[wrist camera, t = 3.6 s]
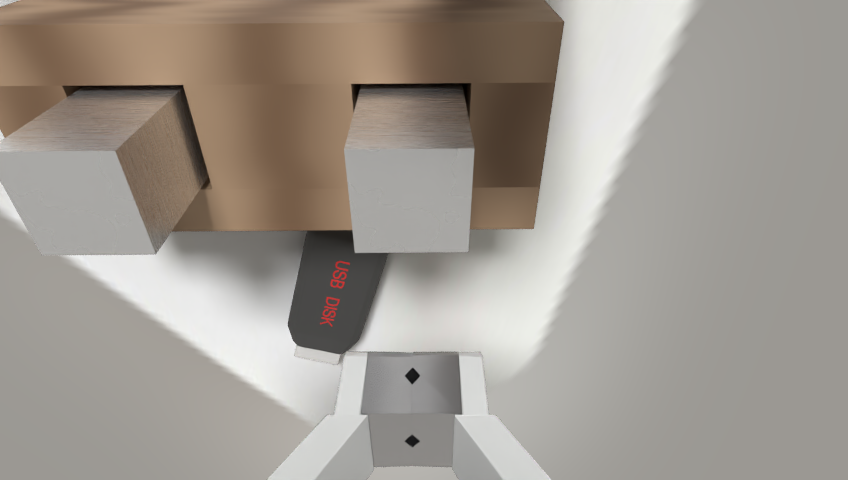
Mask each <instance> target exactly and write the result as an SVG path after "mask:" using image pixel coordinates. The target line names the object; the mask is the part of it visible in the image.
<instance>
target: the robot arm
mask: <svg viewBox="0 0 848 480" xmlns="http://www.w3.org/2000/svg"><path fill="white" fill-rule="evenodd" d="M387 466H433V467H452V469H453V471H454V473H455V474H456V476H457V478H458V479H459V480H551V479H550V478H549V476H548V475H547V474H546V473H545V472H544V471H543V469H542V468H541V467H540V466H539V465H538V464H537V462H536V461H534V459H533V458H532V457H531V455H530V454H529V453H528V452H527V451H526V450H525V448H524V447H523V446H522V445H521V444H520V443H519V441H518V440H517V439H516V438H515V437H514V435H513V434H512V433H511V432H510V431H509V430H508V428H507V427H506V426H505V425H504V424H503V423H502V421H501V420H500V419H499V418H498V417H497V416H496V415H489V409H488V400H487V391H486V382H485V374H484V365H483V356H482V354H481V352H413V353H406V352H354V351H346V353H345V356H344V358H343V364H342V370H341V375H340V381H339V387H338V393H337V398H336V404H335V410H334V414H332V415H326V416H325V417H324V418H323V419H322V420H321V422H320V423H319V424H318V425H317V426H316V427H315V428H314V429H313V430H312V431H311V433H310V434H309V435H308V436H307V437H306V438H305V439H304V440H303V441H302V442H301V443H300V444H299V445H298V446H297V447H296V449H295V450H294V451H293V452H292V453H291V454H290V455H289V456H288V457H287V458H286V459H285V460H284V462H283V463H282V464H281V465H280V466H279V467H278V468H277V469H276V470H275V471H274V472H273V473H272V475H271V476H270V477H269V478H268V479H267V480H367V479H368V478H369V476H370V475H371V473H372V472H373V470H374V467H387Z"/></svg>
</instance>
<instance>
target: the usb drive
mask: <svg viewBox="0 0 848 480" xmlns="http://www.w3.org/2000/svg"><path fill="white" fill-rule="evenodd" d="M387 255H388V253H355V250H354V240H353V231H352V230H307V235H306V239H305V244H304V249H303V254H302V258H301V263H300V268H299V272H298V277H297V282H296V287H295V291H294V296H293V301H292V306H291V310H290V315H289V320H288V327H289V330H290V333H291V336H292V339H293V341H294V342H295V343H296V344H297V346H296V350H295V354H294V356H295V357H299V358H304V359H309V360H315V361H320V362H325V363H330V364H335V365H337V364H338V362H339V359H340V356H341V354H343V353H345V352H346V351H348V350H349V349H350V348H351V347H352V346H353V345H354V344H355V343H356V342H357V341H358V340H359V338H360V336H361V333H362V330H363V327H364V324H365V321H366V318H367V315H368V312H369V309H370V306H371V303H372V300H373V297H374V294H375V291H376V288H377V285H378V282H379V279H380V276H381V274H382V271H383V268H384V265H385V262H386V258H387Z"/></svg>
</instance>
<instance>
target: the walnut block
mask: <svg viewBox="0 0 848 480" xmlns="http://www.w3.org/2000/svg"><path fill="white" fill-rule="evenodd" d="M563 26H564V21H563V20H562V19H561V18H560V17H559V15H558V14H557V13H556V12H555V11H554V10H553V9H552V8H551V7H550V6H549V5H548V4H547V3H546V1H545V0H20V1H17V2H14V3H11V4H8V5H5V6H2V7H0V130H1V132H2V133H3V135H4V137H5V138H6V137H7V136H9V135H10V134H12V133H13V132H15V131H16V130H18V129H20V128H21V127H23V126H24V125H26V124H27V123H29V122H30V121H32V120H33V119H35V118H36V117H38V116H39V115H41V114H42V113H44V112H45V111H47V110H49V109H50V108H52V107H53V106H55V105H56V104H58V103H59V102H61V101H62V100H64V99H65V98H67V97H68V96H70V95H71V94H73V93H74V92H76V91H77V90H79V89H81V88H82V87H84V86H92V85H183V87H184V90H185V94H186V97H187V101H188V104H189V108H190V111H191V115H192V118H193V122H194V125H195V129H196V133H197V136H198V140H199V143H200V147H201V150H202V154H203V157H204V161H205V164H206V168H207V171H208V175H209V177H208V178H207V180H206V181H205V183H204V184H203V186H202V187H201V189H200V190H199V192H198V193H197V194H196V196H195V197H194V199H193V200H192V202H191V203H190V205H189V206H188V208H187V209H186V211H185V212H184V214H183V215H182V217H181V218H180V219H179V221H178V222H177V224H176V225H175V227H174V228H173V230H172V231H300V230H352V221H351V212H350V202H349V192H348V183H347V173H346V164H345V154H344V147H345V144H346V140H347V136H348V132H349V129H350V125H351V121H352V117H353V114H354V110H355V106H356V102H357V99H358V95H359V91H360V88H361V84H403V83H462V87H463V92H464V97H465V102H466V107H467V112H468V118H469V123H470V128H471V133H472V138H473V143H474V165H473V182H472V199H471V216H470V229H534V223H535V216H536V209H537V203H538V196H539V189H540V182H541V176H542V169H543V162H544V155H545V148H546V142H547V135H548V128H549V121H550V114H551V108H552V101H553V94H554V87H555V80H556V74H557V67H558V60H559V53H560V47H561V40H562V33H563Z"/></svg>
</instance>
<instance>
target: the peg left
mask: <svg viewBox="0 0 848 480" xmlns="http://www.w3.org/2000/svg"><path fill="white" fill-rule="evenodd" d="M208 177H209V175H208V171H207V168H206V164H205V161H204V157H203V154H202V150H201V147H200V143H199V140H198V136H197V133H196V129H195V125H194V122H193V118H192V115H191V111H190V108H189V104H188V101H187V97H186V94H185V90H184V87H183V85H92V86H84V87H82V88H81V89H79V90H77V91H76V92H74V93H73V94H71V95H70V96H68V97H67V98H65V99H64V100H62V101H61V102H59V103H58V104H56V105H55V106H53V107H52V108H50V109H49V110H47V111H45V112H44V113H42V114H41V115H39V116H38V117H36V118H35V119H33V120H32V121H30V122H29V123H27V124H26V125H24V126H23V127H21V128H20V129H18V130H16V131H15V132H13V133H12V134H10V135H9V136H7V137H6V138H4V139H3V140H1V141H0V181H1V183H2V185H3V187H4V188H5V190H6V192H7V194H8V196H9V197H10V199H11V201H12V203H13V205H14V206H15V208H16V210H17V212H18V214H19V215H20V217H21V219H22V221H23V223H24V224H25V226H26V228H27V230H28V231H29V233H30V235H31V237H32V239H33V240H34V242H35V244H36V246H37V248H38V249H39V251H40V253H41V255H147V254H156V253H157V252H158V250H159V249H160V247H161V246H162V244H163V243H164V242H165V240H166V239H167V237H168V236H169V234H170V233H171V231H172V230H173V228H174V227H175V225H176V224H177V222H178V221H179V219H180V218H181V217H182V215H183V214H184V212H185V211H186V209H187V208H188V206H189V205H190V203H191V202H192V200H193V199H194V197H195V196H196V194H197V193H198V192H199V190H200V189H201V187H202V186H203V184H204V183H205V181H206V180H207V178H208Z"/></svg>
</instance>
